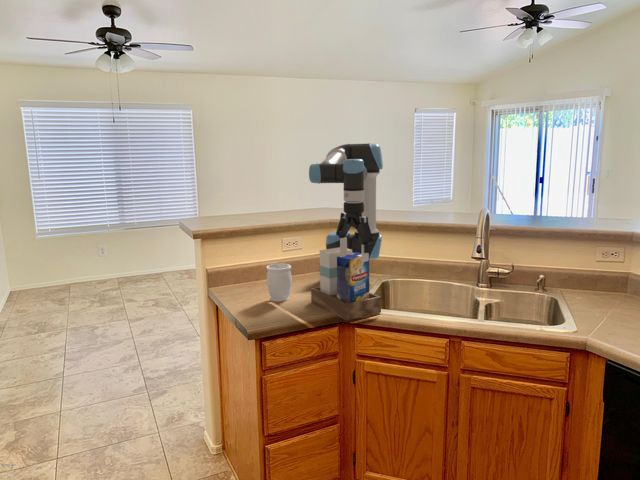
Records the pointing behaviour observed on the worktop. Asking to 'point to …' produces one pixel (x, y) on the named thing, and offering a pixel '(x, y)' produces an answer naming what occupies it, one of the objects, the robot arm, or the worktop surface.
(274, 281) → the jar
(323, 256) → the banded carton
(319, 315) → the worktop surface
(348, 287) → the blue food box
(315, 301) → the bin
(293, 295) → the worktop surface
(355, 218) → the robot arm
